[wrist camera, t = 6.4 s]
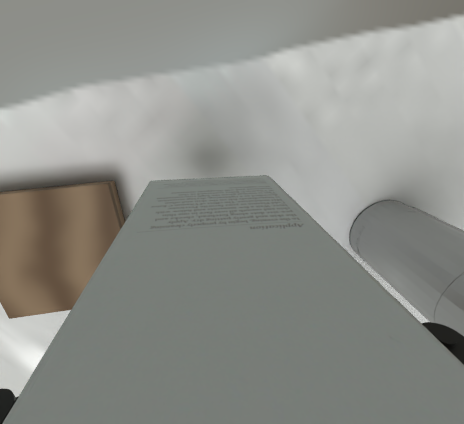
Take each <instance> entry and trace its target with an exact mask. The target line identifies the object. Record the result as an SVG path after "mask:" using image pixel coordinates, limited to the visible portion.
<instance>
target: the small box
mask: <svg viewBox="0 0 464 424" xmlns="http://www.w3.org/2000/svg"><path fill="white" fill-rule="evenodd" d="M2 424H464V365H463V364H462V363H461V362H460V361H459V360H458V359H457V358H456V357H455V356H454V355H453V354H452V353H451V352H450V351H449V350H448V349H447V348H446V347H445V346H444V345H443V344H442V343H441V342H440V341H439V340H438V339H437V338H436V337H435V336H434V335H433V334H432V333H431V332H430V331H428V330H427V329H426V328H425V327H424V326H423V325H422V324H421V323H420V322H419V321H418V320H417V319H416V318H415V317H414V316H413V315H412V314H411V313H410V312H409V311H408V310H407V309H406V308H405V307H404V306H403V305H402V304H401V303H400V302H399V301H398V300H397V299H396V298H394V297H393V296H392V295H391V294H390V293H389V292H388V291H386V289H385V288H384V287H383V286H382V285H381V284H380V283H379V282H378V281H377V280H376V279H375V278H374V277H372V276H371V275H370V274H369V273H368V272H367V271H366V270H365V269H364V268H363V267H362V266H361V265H360V264H359V263H358V262H357V261H356V260H355V259H354V258H353V257H352V256H351V255H350V254H349V253H348V252H347V251H346V250H345V249H344V248H343V247H342V246H341V245H340V244H339V243H337V242H336V241H335V240H334V239H333V238H332V237H331V236H330V235H329V234H328V233H327V232H326V231H325V230H324V229H323V228H322V227H321V226H320V225H319V224H318V223H317V222H316V221H315V220H314V219H313V218H312V217H311V216H310V215H309V214H308V213H307V212H306V211H305V210H304V209H303V208H302V207H300V206H299V205H298V204H297V203H296V202H295V201H294V200H293V199H292V198H291V197H290V196H289V195H288V194H287V193H286V192H285V191H284V190H283V189H282V188H281V187H280V186H279V185H278V184H277V183H276V182H275V181H274V180H273V179H271V178H270V177H269V176H267V175H263V176H245V177H224V178H203V179H180V180H157V181H150V182H149V184H148V186H147V187H146V189H145V191H144V192H143V194H142V196H141V197H140V199H139V200H138V202H137V204H136V205H135V207H134V209H133V210H132V212H131V213H130V215H129V217H128V218H127V220H126V222H125V223H124V225H123V226H122V228H121V230H120V231H119V233H118V235H117V236H116V238H115V239H114V241H113V243H112V244H111V246H110V248H109V249H108V251H107V252H106V254H105V256H104V257H103V259H102V261H101V262H100V264H99V265H98V267H97V269H96V270H95V272H94V274H93V275H92V277H91V279H90V280H89V282H88V283H87V285H86V287H85V288H84V290H83V292H82V293H81V295H80V297H79V298H78V300H77V301H76V303H75V305H74V306H73V308H72V310H71V311H70V313H69V315H68V316H67V318H66V319H65V321H64V323H63V324H62V326H61V328H60V329H59V331H58V333H57V334H56V336H55V337H54V339H53V341H52V342H51V344H50V346H49V347H48V349H47V351H46V352H45V354H44V356H43V357H42V359H41V360H40V362H39V364H38V365H37V367H36V369H35V370H34V372H33V374H32V375H31V377H30V379H29V380H28V382H27V384H26V385H25V387H24V389H23V391H22V392H21V394H20V396H19V397H18V399H17V401H16V402H15V404H14V405H13V407H12V409H11V410H10V412H9V414H8V415H7V417H6V418H5V420H4V422H3V423H2Z"/></svg>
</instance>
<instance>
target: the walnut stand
mask: <svg viewBox="0 0 464 424" xmlns="http://www.w3.org/2000/svg"><path fill="white" fill-rule="evenodd" d="M124 223H125V220H124V216H123V212H122V209H121V205H120V201H119V197H118V193H117V189H116V185H115V181H105V182H95V183H85V184H75V185H65V186H55V187H45V188H35V189H25V190H15V191H5V192H0V302H1V304H2V306H3V308H4V310H5V312H6V313H7V315H8V317H9V319H10V318H17V317H24V316H31V315H38V314H44V313H51V312H58V311H65V310H72V308H73V306H74V305H75V303H76V301H77V300H78V298H79V297H80V295H81V293H82V292H83V290H84V288H85V287H86V285H87V283H88V282H89V280H90V279H91V277H92V275H93V274H94V272H95V270H96V269H97V267H98V265H99V264H100V262H101V261H102V259H103V257H104V256H105V254H106V252H107V251H108V249H109V248H110V246H111V244H112V243H113V241H114V239H115V238H116V236H117V235H118V233H119V231H120V230H121V228H122V226H123V225H124Z"/></svg>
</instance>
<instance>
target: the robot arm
mask: <svg viewBox="0 0 464 424" xmlns="http://www.w3.org/2000/svg"><path fill="white" fill-rule="evenodd" d="M350 243H351V247H352V248H353V250H354V251H355V252H356V253H357V254H358V255H359V256H360V257H361V258H362V259H363V260H364V261H365V262H366V263H367V264H368V265H369V266H371V267H372V269H374V270H375V271H376V272H377V273H378V274H379V275H380V276H381V277H382V278H383V279H384V280H385V281H386V282H388V283H389V284H390V285H391V286H392V287H393V288H394V289H395V290H396V291H397V292H398V293H399V294H400V295H402V296H403V297H404V298H405V299H406V300H407V301H408V302H409V303H410V304H411V305H412V306H413V307H414V308H416V309H417V310H418V311H419V312H420V313H421V314H422V315H423V316H424V317H425V318H426V319H427V320H428V321H430V322H427V323H422V325H423V326H424V327H425V328H426V329H427V330H428V331H430V332H431V333H432V334H433V335H434V336H435V337H436V338H437V339H438V340H439V341H440V342H441V343H442V344H443V345H444V346H445V347H446V348H447V349H448V350H449V351H450V352H451V353H452V354H453V355H454V356H455V357H456V358H457V359H458V360H459V361H460V362H461V363H462V364H463V365H464V231H463V230H461V229H459V228H457V227H455V226H452V225H450V224H448V223H446V222H444V221H442V220H440V219H438V218H436V217H434V216H431V215H429V214H427V213H425V212H423V211H421V210H419V209H417V208H415V207H409V206H407V205H404V204H402V203H400V202H397V201H392V200H388V201H382V202H378V203H376V204H374V205H372V206H370V207H368V208H367V209H366V210H364V211H363V212H362V213H361V214H360V215H359V216H358V218H357V219H356V221H355V222H354V224H353V226H352V229H351V233H350ZM17 399H18V397H17V398H16V397H15V396H14V394H13V392H12V391H11V390H9V389H0V424H2V423H3V422H4V420H5V418H6V417H7V415H8V414H9V412H10V410H11V409H12V407H13V405H14V404H15V402H16V401H17Z"/></svg>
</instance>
